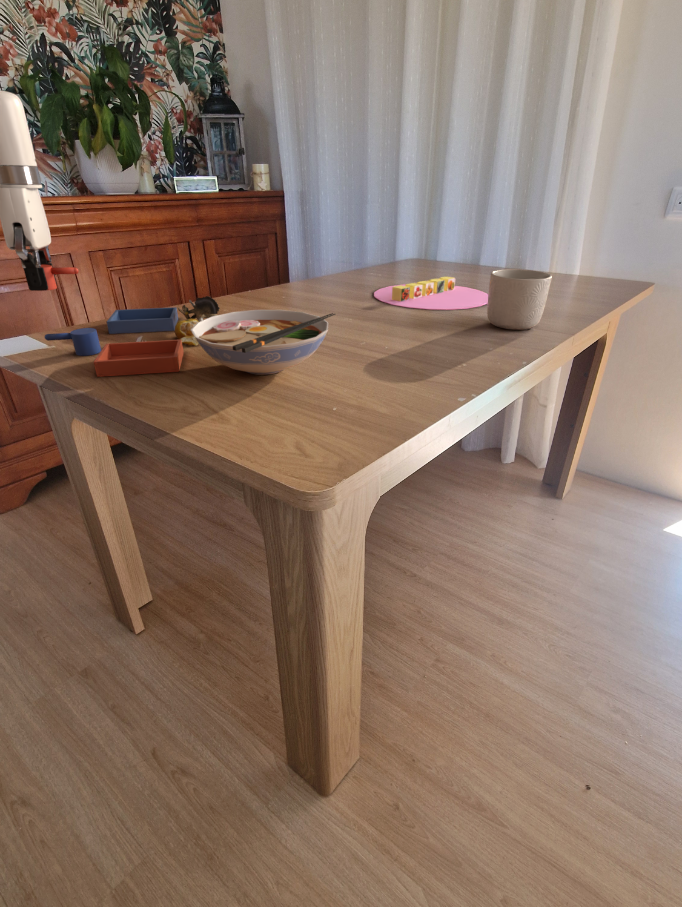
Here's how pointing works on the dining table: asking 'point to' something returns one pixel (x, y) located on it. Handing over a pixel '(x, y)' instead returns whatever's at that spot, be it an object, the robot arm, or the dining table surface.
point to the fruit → (186, 331)
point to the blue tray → (142, 320)
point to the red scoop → (56, 270)
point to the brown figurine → (201, 308)
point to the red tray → (139, 358)
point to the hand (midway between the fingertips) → (43, 286)
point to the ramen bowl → (261, 339)
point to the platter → (432, 295)
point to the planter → (517, 298)
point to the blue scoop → (80, 340)
